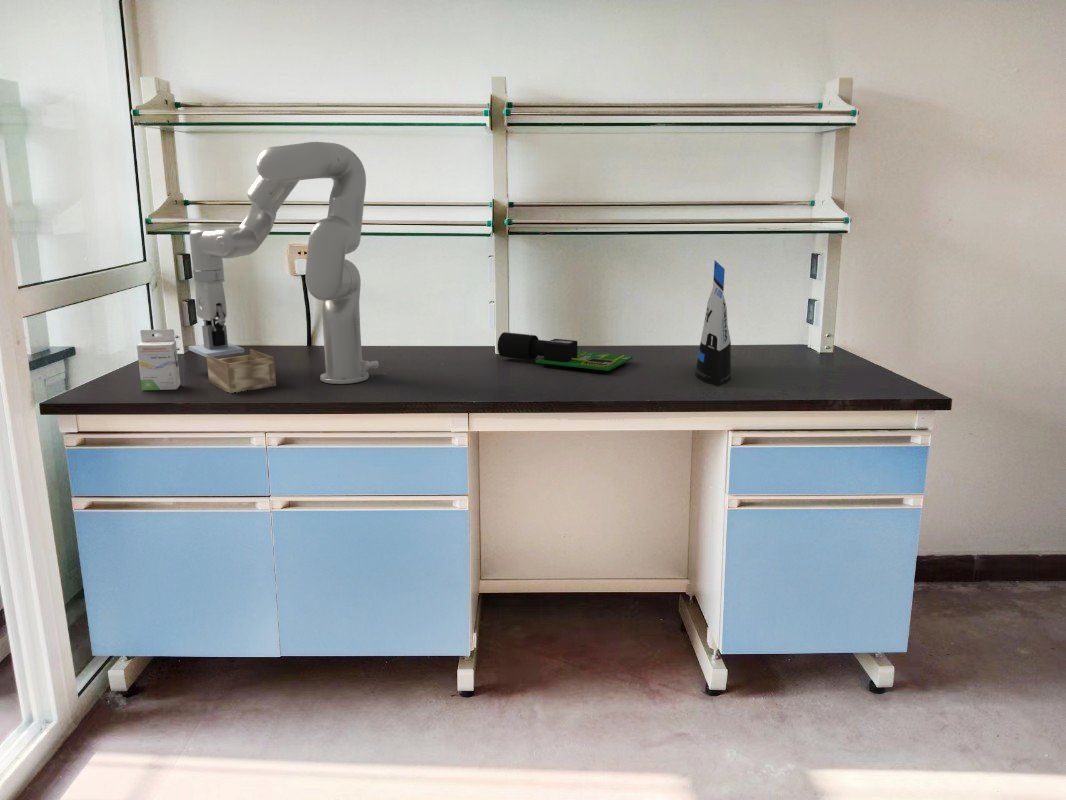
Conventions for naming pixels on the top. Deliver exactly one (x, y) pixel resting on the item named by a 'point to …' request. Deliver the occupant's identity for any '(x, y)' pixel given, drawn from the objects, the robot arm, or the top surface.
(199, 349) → the cover plate
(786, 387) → the top surface
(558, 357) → the electronic board model
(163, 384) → the ink box
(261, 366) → the beech box
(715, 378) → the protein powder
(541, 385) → the top surface
